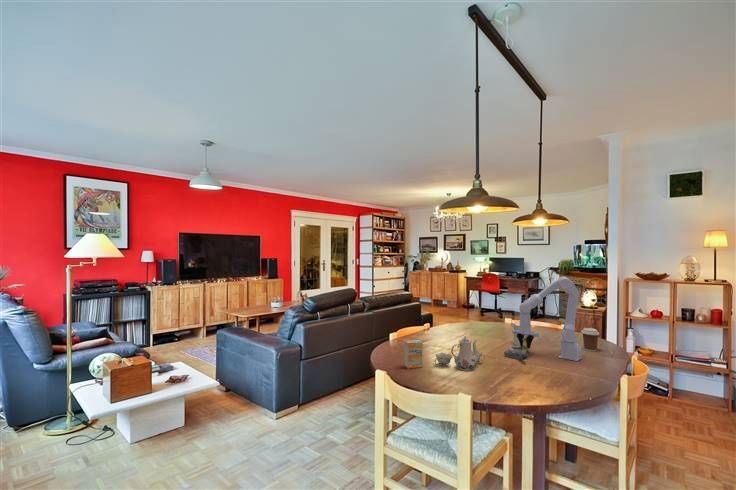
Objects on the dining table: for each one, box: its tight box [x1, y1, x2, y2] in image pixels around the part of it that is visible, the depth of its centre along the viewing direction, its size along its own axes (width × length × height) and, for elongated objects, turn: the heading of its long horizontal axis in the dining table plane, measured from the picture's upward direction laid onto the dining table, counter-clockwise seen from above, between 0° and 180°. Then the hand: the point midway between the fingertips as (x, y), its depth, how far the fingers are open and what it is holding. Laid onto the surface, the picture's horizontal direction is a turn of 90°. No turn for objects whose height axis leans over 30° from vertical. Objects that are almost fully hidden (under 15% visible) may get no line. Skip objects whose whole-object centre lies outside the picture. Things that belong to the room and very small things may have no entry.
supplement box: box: [404, 339, 423, 370], centre depth 184 cm, size 8×5×13 cm, turn 105°
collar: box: [507, 345, 527, 360], centre depth 195 cm, size 17×7×2 cm, turn 173°
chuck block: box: [503, 350, 531, 361], centre depth 200 cm, size 10×10×2 cm
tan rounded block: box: [522, 337, 530, 352], centre depth 205 cm, size 3×5×9 cm, turn 134°
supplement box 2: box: [512, 322, 528, 347], centre depth 225 cm, size 7×7×13 cm
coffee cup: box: [580, 327, 600, 352], centre depth 212 cm, size 9×9×12 cm
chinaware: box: [434, 335, 486, 372], centre depth 185 cm, size 28×17×17 cm, turn 111°
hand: (525, 347), depth 205 cm, fingers closed on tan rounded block, 3 cm apart
